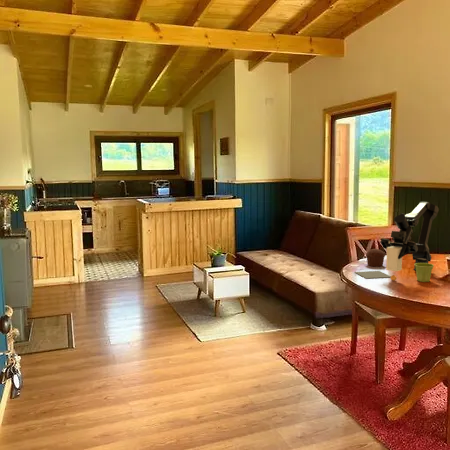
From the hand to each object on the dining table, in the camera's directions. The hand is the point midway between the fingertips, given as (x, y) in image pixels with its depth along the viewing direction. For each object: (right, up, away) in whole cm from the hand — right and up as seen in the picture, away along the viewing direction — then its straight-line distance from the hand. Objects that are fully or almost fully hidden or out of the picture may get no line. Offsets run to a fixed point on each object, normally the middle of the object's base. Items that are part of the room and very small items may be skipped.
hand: (393, 257), depth 235 cm
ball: (+1, -12, +2) cm, 13 cm away
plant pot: (+16, -12, +1) cm, 21 cm away
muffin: (+4, -8, +41) cm, 42 cm away
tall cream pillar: (+1, -6, +2) cm, 7 cm away
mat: (-5, -11, +16) cm, 20 cm away
